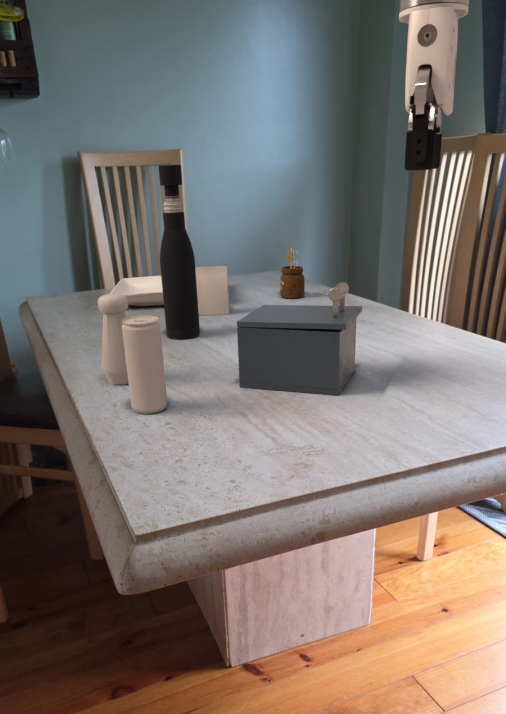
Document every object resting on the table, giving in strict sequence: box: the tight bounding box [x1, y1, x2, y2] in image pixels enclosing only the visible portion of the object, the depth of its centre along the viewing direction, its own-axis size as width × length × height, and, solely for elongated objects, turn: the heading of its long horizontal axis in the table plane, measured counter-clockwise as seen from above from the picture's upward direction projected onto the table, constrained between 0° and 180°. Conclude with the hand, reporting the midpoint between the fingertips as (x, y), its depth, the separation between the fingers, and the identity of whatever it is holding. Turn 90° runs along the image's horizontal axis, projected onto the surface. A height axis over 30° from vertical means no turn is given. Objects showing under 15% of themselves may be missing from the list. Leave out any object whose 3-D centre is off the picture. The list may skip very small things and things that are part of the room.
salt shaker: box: [97, 293, 129, 386], centre depth 93 cm, size 6×6×13 cm
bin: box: [236, 318, 357, 396], centre depth 91 cm, size 15×12×9 cm
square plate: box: [109, 275, 164, 307], centre depth 156 cm, size 27×27×4 cm
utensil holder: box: [279, 246, 306, 300], centre depth 150 cm, size 6×6×12 cm
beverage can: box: [122, 315, 168, 415], centre depth 81 cm, size 5×5×12 cm
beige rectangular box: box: [195, 265, 230, 316], centre depth 136 cm, size 4×7×10 cm, turn 90°
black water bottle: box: [158, 164, 201, 340], centre depth 114 cm, size 6×6×30 cm
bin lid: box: [236, 281, 363, 330], centre depth 88 cm, size 15×12×5 cm
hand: (422, 169), depth 76 cm, fingers open, 9 cm apart
